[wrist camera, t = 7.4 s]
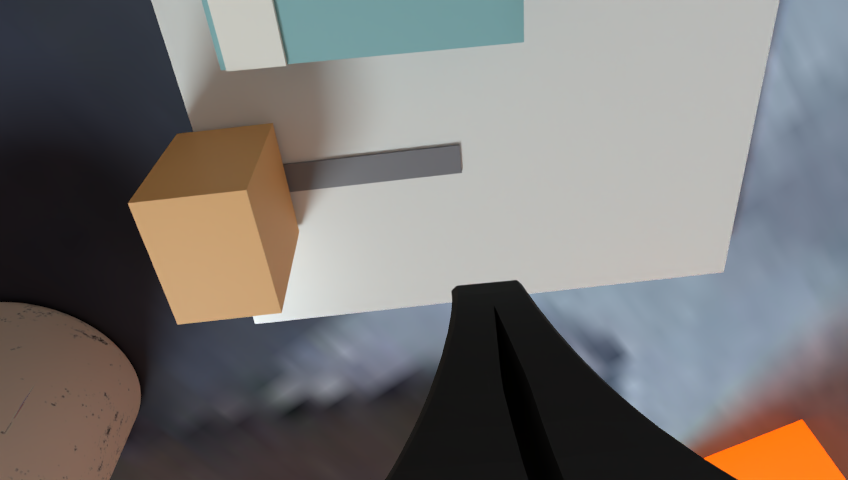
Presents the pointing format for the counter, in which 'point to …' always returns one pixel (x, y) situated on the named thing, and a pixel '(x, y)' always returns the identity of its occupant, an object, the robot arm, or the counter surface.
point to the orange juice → (778, 457)
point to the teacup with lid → (61, 397)
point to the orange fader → (219, 223)
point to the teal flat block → (353, 28)
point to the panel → (502, 150)
